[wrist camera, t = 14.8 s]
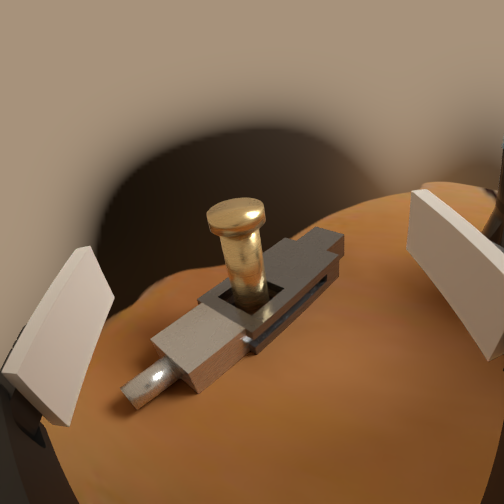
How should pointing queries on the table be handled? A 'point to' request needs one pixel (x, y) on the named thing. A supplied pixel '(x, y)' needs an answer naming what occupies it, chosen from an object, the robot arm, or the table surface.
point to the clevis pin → (242, 249)
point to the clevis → (240, 317)
